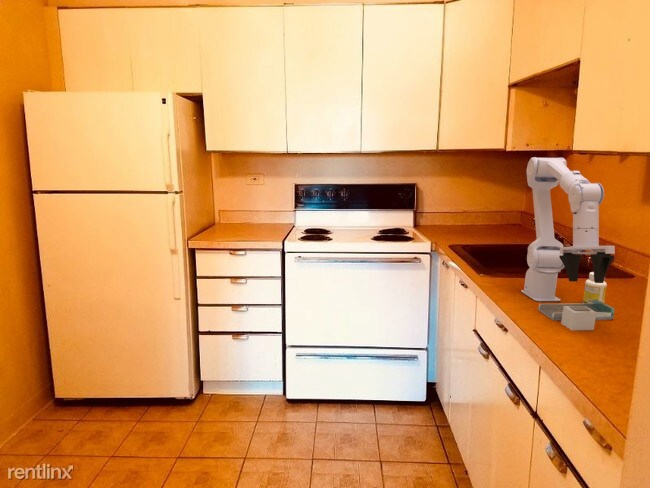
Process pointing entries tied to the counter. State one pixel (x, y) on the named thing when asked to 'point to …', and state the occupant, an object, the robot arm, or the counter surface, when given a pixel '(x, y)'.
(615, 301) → the counter surface
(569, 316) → the block
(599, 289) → the supplement bottle
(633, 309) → the counter surface
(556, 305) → the rail plate
